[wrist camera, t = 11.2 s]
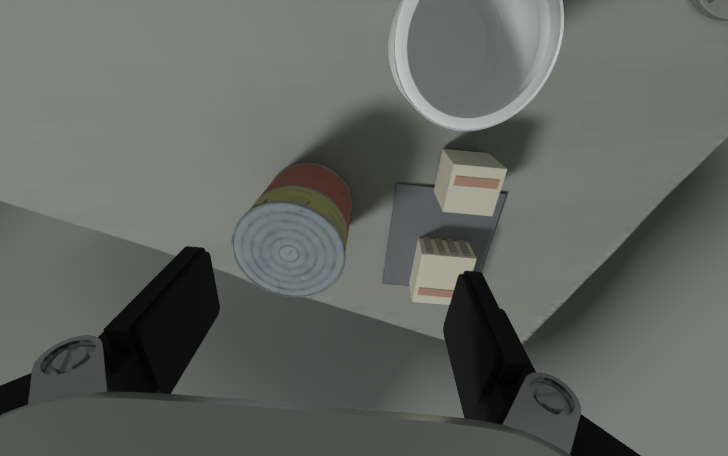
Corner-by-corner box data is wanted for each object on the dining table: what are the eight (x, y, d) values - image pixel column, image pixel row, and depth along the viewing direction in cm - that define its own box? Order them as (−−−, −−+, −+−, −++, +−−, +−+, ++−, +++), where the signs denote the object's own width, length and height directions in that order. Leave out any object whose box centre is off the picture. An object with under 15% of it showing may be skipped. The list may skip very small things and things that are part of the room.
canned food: (266, 157, 38) (225, 195, 28) (356, 167, 39) (349, 209, 28) (269, 235, 44) (236, 291, 33) (348, 243, 44) (341, 302, 34)
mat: (505, 193, 40) (506, 194, 39) (473, 289, 47) (474, 291, 47) (396, 183, 40) (396, 184, 39) (382, 281, 47) (382, 283, 47)
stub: (488, 153, 37) (507, 169, 31) (476, 195, 39) (492, 216, 34) (442, 148, 37) (454, 164, 31) (433, 191, 39) (442, 212, 34)
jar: (503, 62, 33) (590, 66, 20) (419, 122, 36) (445, 160, 23) (454, -43, 29) (522, -125, 16) (365, 36, 32) (358, 22, 19)
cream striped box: (468, 240, 43) (477, 257, 39) (455, 287, 47) (461, 306, 43) (418, 236, 43) (422, 252, 39) (409, 283, 47) (412, 302, 43)
